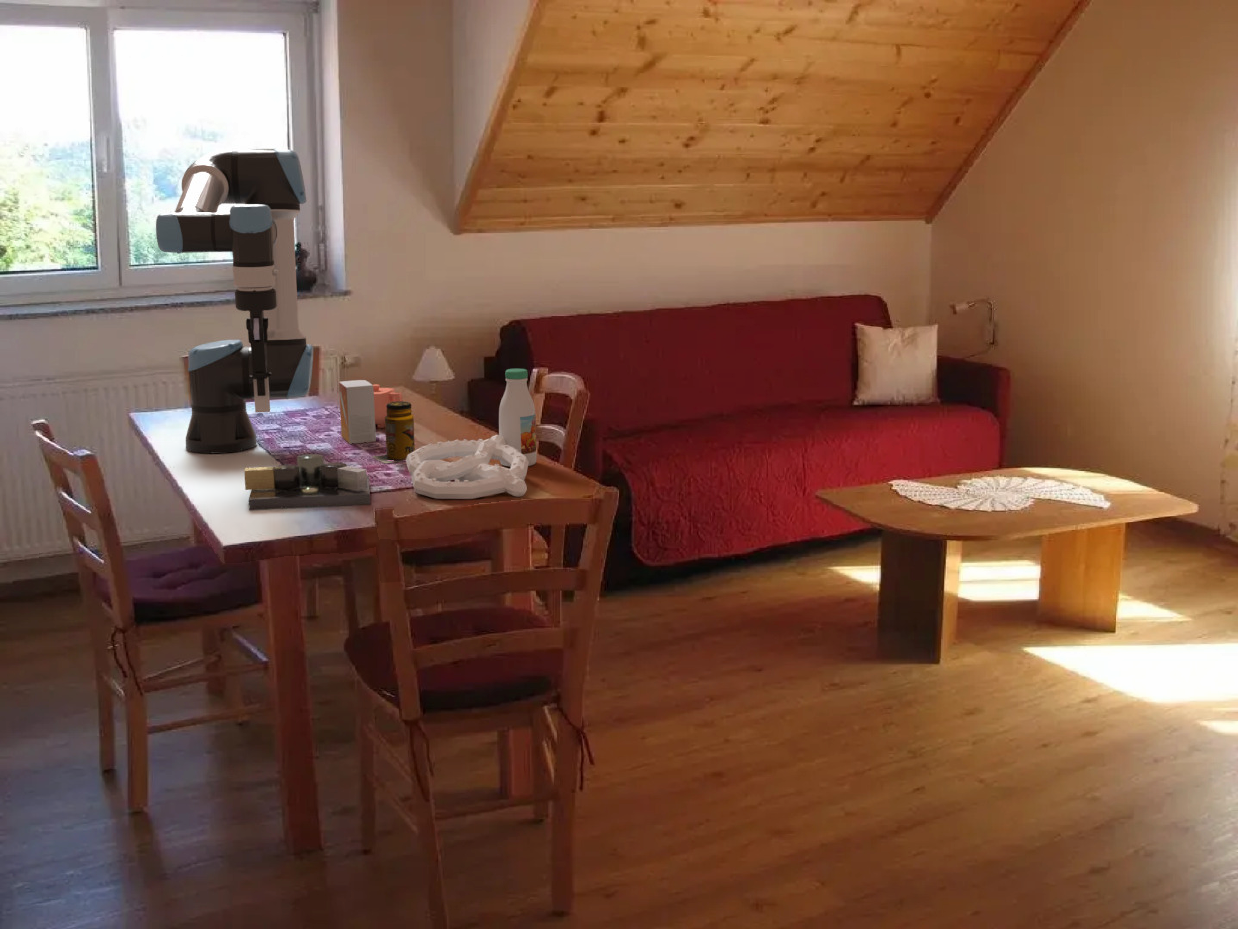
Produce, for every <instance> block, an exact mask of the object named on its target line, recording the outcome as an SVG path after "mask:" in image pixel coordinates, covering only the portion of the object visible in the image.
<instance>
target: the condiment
mask: <svg viewBox="0 0 1238 929" xmlns="http://www.w3.org/2000/svg"><path fill="white" fill-rule="evenodd" d="M386 407H387V411H386V413H387V415H386V417H385V430H384V431H385V450H386V452H385V454H382V455H372V456H371V458H373V459H375V460H376V461H379V462H381V463H383V464H385V465H386V464H392V463H399V462H404V461H403V460H406V458H407V455H408V454H410V453H412V452H414V451H415V447H416V446H415V445H416V444H415V424H414V423H415V422H414V420H415V419H414V415H413V414H412V412H413V410H412V403H411V402H408V401H403V402H402V401H397V402H390V403H388V404H387V406H386ZM387 460H394V461H393V462H392V461H387ZM397 461H398V462H397Z"/></svg>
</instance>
